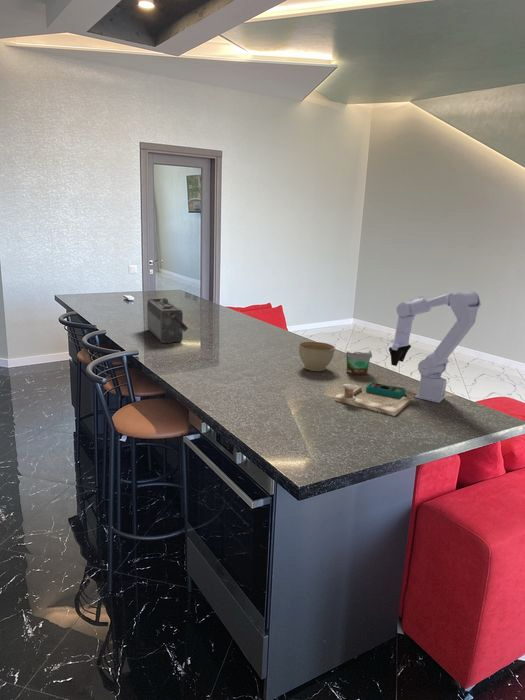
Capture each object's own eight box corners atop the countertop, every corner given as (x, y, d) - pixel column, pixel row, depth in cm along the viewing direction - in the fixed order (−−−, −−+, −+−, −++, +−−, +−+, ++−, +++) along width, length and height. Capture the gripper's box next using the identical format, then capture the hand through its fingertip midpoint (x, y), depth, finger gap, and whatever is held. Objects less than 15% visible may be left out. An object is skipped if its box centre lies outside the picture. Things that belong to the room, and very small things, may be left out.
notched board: (410, 402, 182) (412, 386, 180) (393, 416, 167) (396, 399, 165) (354, 388, 194) (355, 373, 193) (334, 400, 179) (335, 384, 178)
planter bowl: (331, 375, 210) (333, 351, 207) (295, 371, 213) (296, 348, 210) (334, 365, 225) (335, 343, 223) (299, 362, 228) (301, 340, 226)
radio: (146, 329, 282) (146, 295, 277) (171, 328, 288) (171, 295, 283) (161, 344, 249) (161, 306, 244) (188, 343, 255) (188, 305, 250)
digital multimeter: (368, 387, 198) (369, 381, 197) (405, 394, 191) (406, 387, 191) (364, 392, 191) (364, 385, 191) (402, 400, 185) (403, 392, 184)
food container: (349, 377, 209) (351, 354, 207) (343, 372, 215) (345, 351, 213) (375, 376, 213) (377, 354, 210) (368, 371, 218) (370, 350, 216)
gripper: (399, 326, 202) (394, 356, 206) (387, 332, 191) (381, 364, 195) (416, 330, 199) (410, 361, 203) (404, 336, 187) (398, 369, 191)
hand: (397, 363), depth 199 cm, fingers open, 7 cm apart
